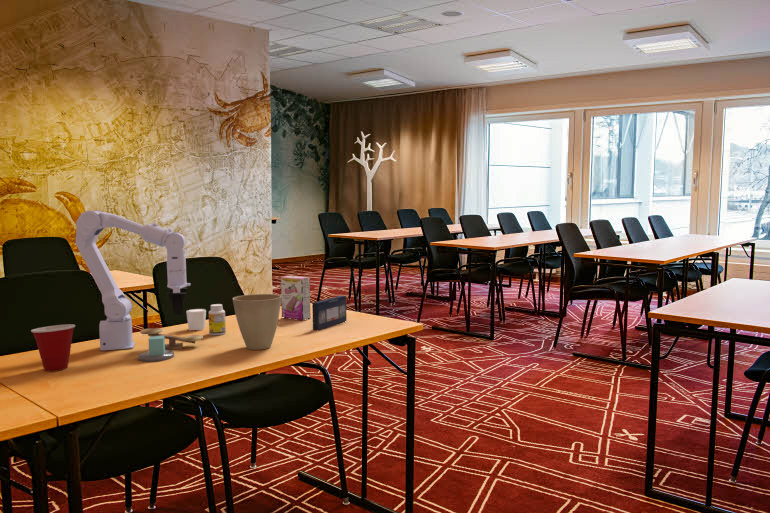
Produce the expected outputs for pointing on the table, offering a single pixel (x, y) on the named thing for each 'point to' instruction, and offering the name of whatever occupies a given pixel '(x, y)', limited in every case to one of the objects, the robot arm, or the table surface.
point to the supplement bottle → (217, 320)
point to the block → (156, 345)
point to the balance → (172, 338)
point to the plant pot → (257, 318)
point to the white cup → (196, 319)
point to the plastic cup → (54, 345)
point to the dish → (147, 358)
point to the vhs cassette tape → (329, 312)
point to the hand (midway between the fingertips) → (178, 312)
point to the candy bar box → (295, 297)
